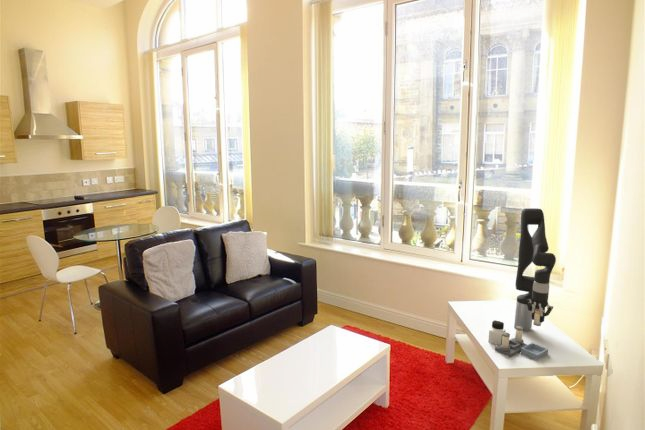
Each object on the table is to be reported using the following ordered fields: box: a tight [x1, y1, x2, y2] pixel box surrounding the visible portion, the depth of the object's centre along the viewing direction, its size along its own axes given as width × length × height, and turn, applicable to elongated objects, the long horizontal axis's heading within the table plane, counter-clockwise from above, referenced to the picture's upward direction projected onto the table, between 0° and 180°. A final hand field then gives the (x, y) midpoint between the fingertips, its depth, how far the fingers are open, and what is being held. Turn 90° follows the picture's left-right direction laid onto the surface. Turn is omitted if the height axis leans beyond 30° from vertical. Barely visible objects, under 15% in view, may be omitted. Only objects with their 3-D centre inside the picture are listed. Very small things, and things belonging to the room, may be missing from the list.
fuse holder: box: [494, 326, 528, 358], centre depth 225 cm, size 18×9×11 cm, turn 125°
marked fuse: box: [532, 308, 543, 327], centre depth 217 cm, size 4×4×9 cm
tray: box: [519, 342, 549, 362], centre depth 221 cm, size 11×9×3 cm
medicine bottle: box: [488, 319, 506, 346], centre depth 234 cm, size 7×7×12 cm
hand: (537, 320), depth 217 cm, fingers closed on marked fuse, 3 cm apart
